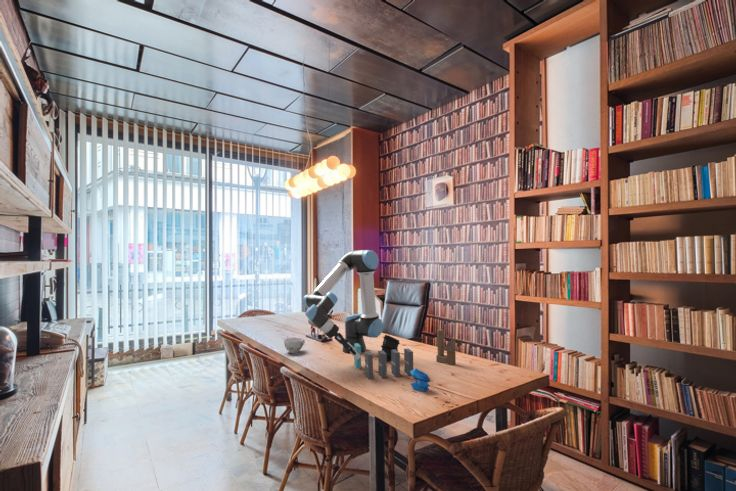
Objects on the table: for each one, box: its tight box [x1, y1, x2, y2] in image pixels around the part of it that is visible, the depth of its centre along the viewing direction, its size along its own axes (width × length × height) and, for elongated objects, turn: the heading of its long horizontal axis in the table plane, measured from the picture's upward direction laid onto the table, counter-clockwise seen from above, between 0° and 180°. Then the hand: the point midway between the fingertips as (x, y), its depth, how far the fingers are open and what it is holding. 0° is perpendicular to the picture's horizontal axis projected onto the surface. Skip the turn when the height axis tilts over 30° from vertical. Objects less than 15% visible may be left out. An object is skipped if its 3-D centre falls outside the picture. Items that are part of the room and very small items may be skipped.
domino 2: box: [377, 349, 388, 379], centre depth 185 cm, size 2×7×12 cm, turn 13°
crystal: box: [410, 368, 432, 392], centre depth 166 cm, size 7×9×12 cm
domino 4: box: [403, 348, 414, 377], centre depth 188 cm, size 2×7×12 cm, turn 13°
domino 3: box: [390, 349, 401, 378], centre depth 187 cm, size 2×7×12 cm, turn 13°
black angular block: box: [380, 334, 401, 363], centre depth 213 cm, size 4×13×15 cm, turn 135°
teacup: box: [283, 337, 306, 354], centre depth 235 cm, size 15×12×8 cm
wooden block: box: [435, 329, 457, 366], centre depth 207 cm, size 4×11×18 cm, turn 43°
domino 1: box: [364, 350, 374, 381], centre depth 184 cm, size 2×7×12 cm, turn 13°
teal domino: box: [353, 343, 362, 370], centre depth 201 cm, size 2×7×12 cm, turn 13°
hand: (357, 354), depth 201 cm, fingers open, 13 cm apart
